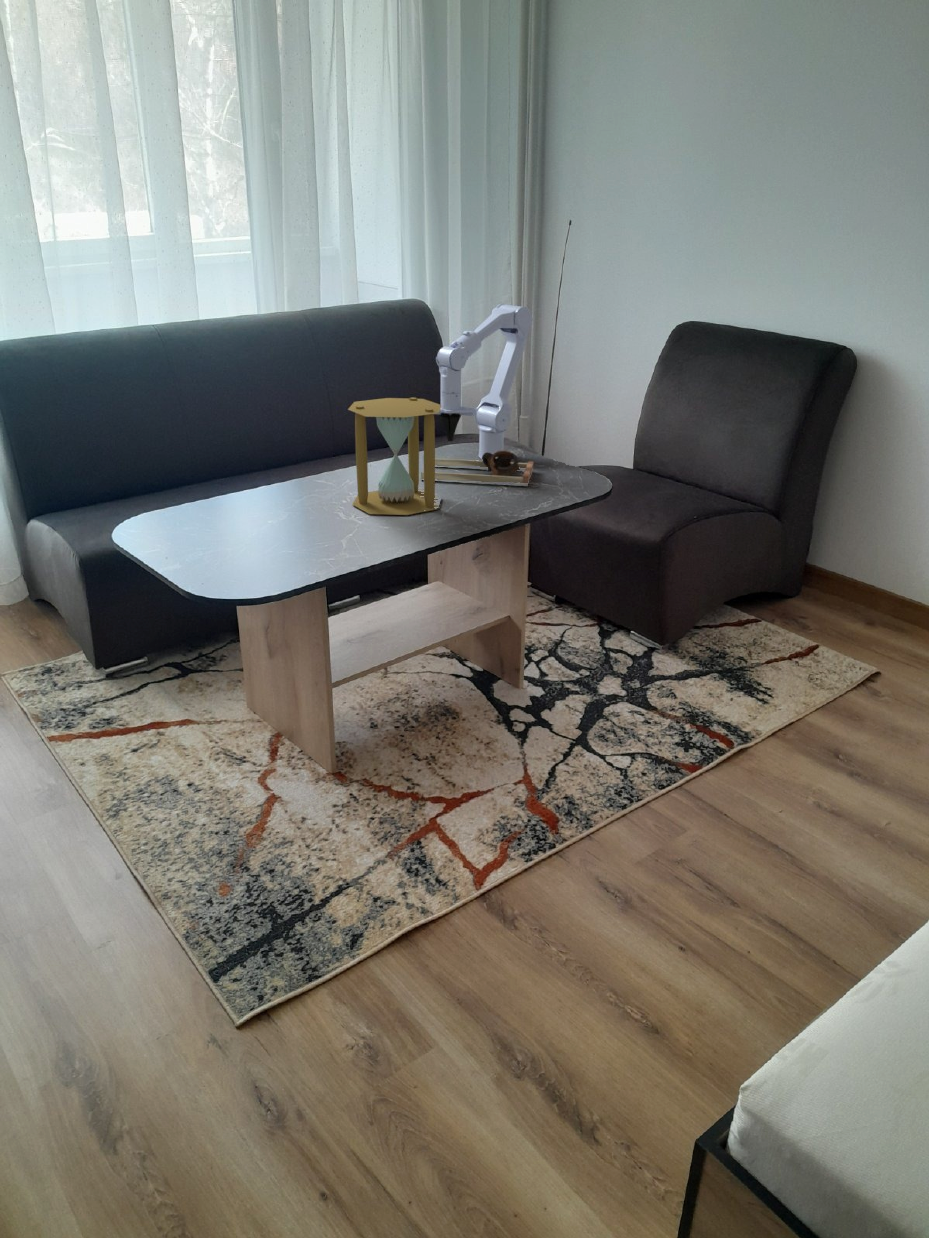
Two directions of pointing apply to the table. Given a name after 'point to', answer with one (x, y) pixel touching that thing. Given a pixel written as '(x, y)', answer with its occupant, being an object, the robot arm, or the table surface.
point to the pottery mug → (501, 463)
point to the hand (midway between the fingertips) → (450, 440)
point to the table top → (477, 476)
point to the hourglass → (396, 483)
